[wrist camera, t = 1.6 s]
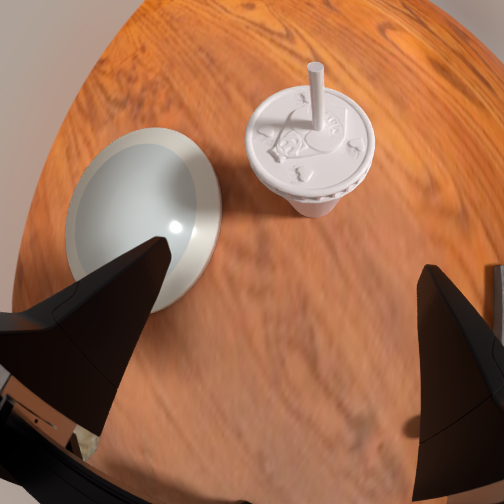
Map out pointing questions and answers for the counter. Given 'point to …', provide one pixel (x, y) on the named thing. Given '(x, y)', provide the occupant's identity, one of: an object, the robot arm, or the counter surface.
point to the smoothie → (310, 144)
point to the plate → (147, 207)
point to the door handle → (499, 303)
